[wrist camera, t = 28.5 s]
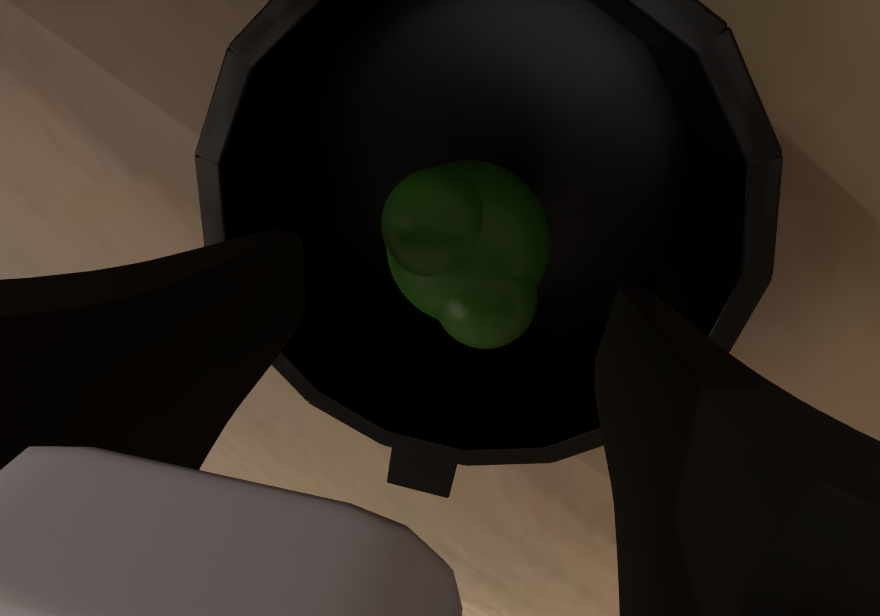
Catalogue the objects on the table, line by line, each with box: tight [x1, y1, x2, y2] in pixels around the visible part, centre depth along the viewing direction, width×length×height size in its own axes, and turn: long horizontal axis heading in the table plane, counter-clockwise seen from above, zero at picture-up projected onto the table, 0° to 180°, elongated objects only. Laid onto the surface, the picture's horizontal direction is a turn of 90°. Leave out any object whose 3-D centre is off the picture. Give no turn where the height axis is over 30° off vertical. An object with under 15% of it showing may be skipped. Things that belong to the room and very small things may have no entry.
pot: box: [195, 0, 783, 498], centre depth 15 cm, size 14×20×6 cm
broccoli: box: [381, 160, 550, 349], centre depth 15 cm, size 5×5×7 cm
